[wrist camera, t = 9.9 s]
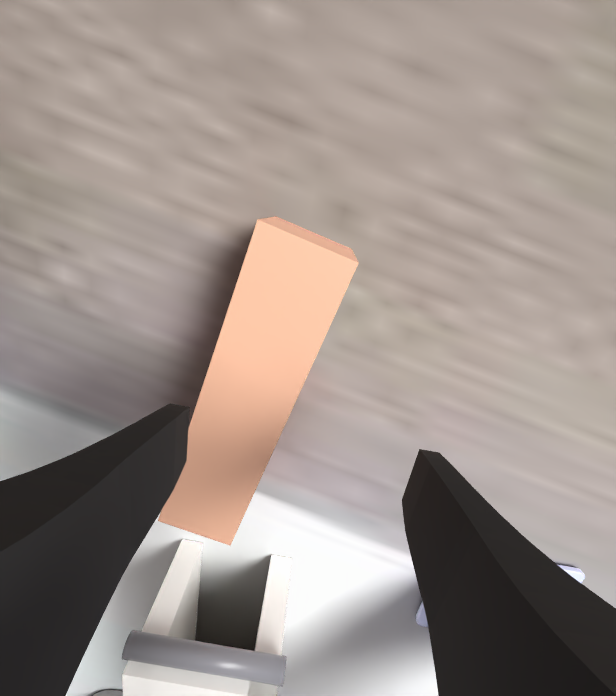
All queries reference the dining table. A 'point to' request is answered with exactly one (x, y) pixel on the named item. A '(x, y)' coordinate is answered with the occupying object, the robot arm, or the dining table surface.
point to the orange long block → (257, 372)
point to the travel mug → (109, 693)
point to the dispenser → (199, 657)
